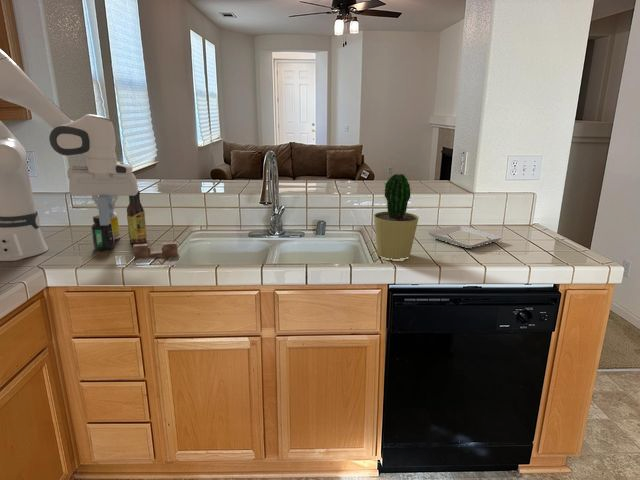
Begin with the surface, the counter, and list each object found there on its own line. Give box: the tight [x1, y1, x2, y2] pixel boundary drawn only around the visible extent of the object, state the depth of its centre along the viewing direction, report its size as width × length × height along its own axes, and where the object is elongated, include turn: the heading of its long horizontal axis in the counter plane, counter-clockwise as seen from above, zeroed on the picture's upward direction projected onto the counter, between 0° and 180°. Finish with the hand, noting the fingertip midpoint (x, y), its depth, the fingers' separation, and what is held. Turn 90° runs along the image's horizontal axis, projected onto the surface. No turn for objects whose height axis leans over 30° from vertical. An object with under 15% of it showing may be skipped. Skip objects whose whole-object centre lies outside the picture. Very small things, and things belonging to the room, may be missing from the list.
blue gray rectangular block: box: [97, 195, 115, 225], centre depth 143 cm, size 2×12×9 cm, turn 16°
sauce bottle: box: [126, 189, 148, 244], centre depth 164 cm, size 6×6×20 cm
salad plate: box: [427, 225, 503, 249], centre depth 173 cm, size 21×21×3 cm
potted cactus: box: [373, 173, 419, 259], centre depth 150 cm, size 15×15×30 cm
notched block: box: [132, 241, 179, 260], centre depth 149 cm, size 14×2×4 cm, turn 106°
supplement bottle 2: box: [110, 211, 121, 241], centre depth 168 cm, size 7×7×13 cm
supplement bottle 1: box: [90, 214, 116, 252], centre depth 156 cm, size 7×7×12 cm
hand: (106, 208), depth 143 cm, fingers closed on blue gray rectangular block, 2 cm apart
